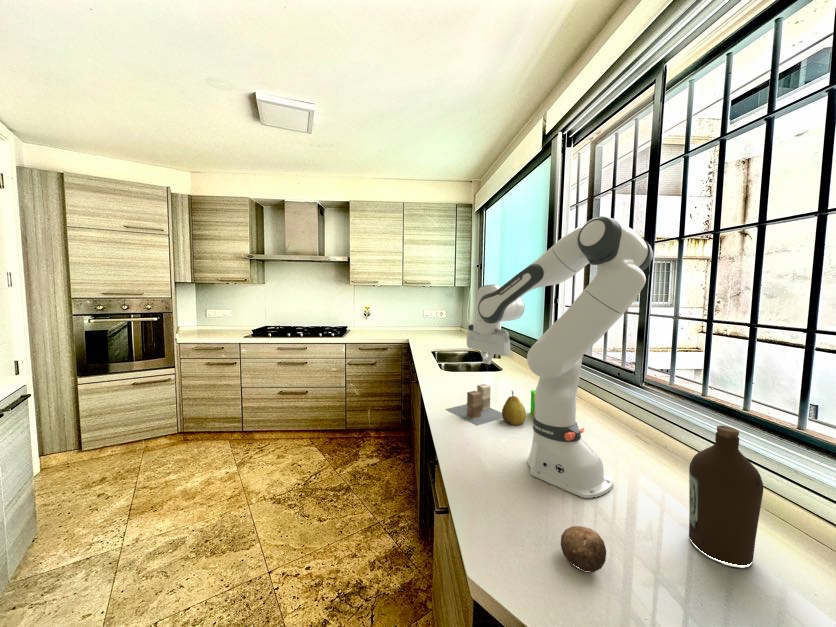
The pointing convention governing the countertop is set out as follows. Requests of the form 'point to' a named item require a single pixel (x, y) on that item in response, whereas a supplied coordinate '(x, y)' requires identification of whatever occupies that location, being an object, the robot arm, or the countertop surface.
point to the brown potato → (583, 548)
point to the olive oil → (724, 500)
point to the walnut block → (474, 404)
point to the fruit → (513, 411)
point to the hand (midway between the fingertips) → (487, 363)
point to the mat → (485, 417)
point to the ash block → (484, 396)
